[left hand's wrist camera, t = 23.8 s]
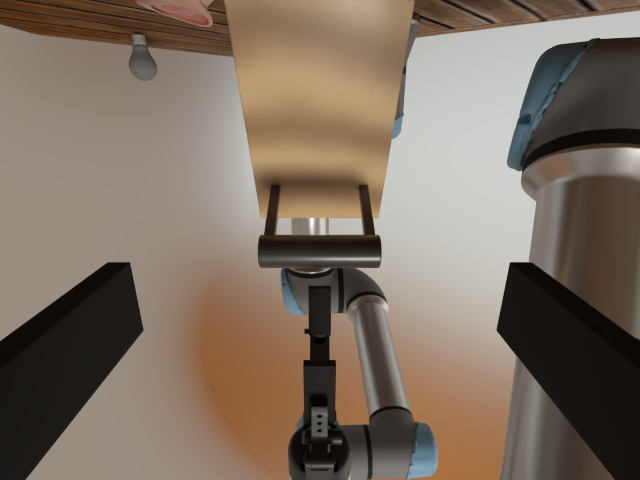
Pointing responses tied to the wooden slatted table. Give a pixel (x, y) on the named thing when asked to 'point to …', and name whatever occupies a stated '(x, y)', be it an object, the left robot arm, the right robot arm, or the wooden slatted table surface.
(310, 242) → the lid
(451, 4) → the wooden slatted table surface
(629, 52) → the left robot arm
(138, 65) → the light bulb
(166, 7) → the anatomical model
